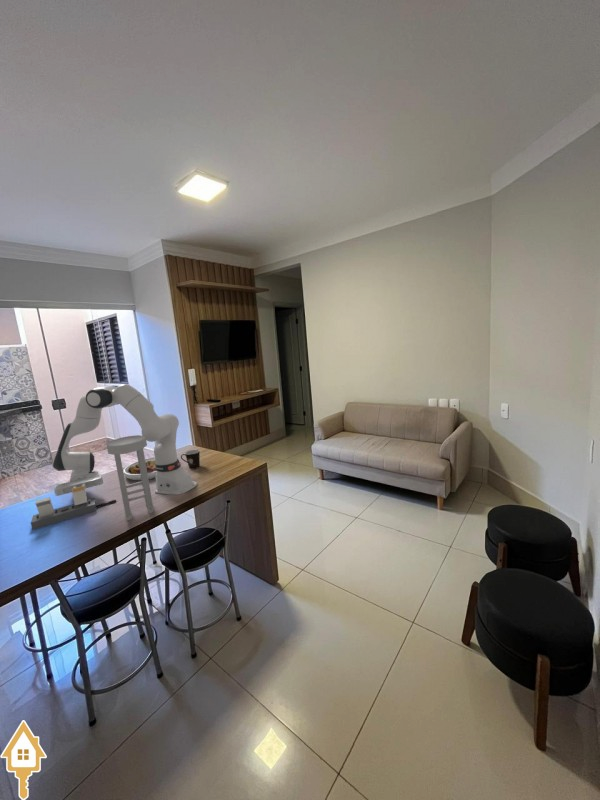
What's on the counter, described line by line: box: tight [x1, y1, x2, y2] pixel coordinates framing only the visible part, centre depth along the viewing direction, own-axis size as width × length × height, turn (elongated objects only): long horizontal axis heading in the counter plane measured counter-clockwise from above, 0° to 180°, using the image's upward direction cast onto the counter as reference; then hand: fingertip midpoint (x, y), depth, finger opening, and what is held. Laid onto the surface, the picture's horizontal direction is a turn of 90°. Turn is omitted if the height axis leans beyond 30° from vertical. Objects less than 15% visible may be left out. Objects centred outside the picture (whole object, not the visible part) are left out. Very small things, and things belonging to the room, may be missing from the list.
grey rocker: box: [35, 496, 54, 516], centre depth 142 cm, size 5×2×8 cm, turn 124°
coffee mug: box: [180, 449, 201, 470], centre depth 199 cm, size 12×9×10 cm
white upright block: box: [71, 486, 88, 505], centre depth 151 cm, size 5×2×8 cm, turn 124°
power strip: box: [30, 497, 117, 531], centre depth 150 cm, size 33×8×5 cm, turn 124°
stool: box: [106, 434, 155, 521], centre depth 144 cm, size 16×16×35 cm
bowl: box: [123, 456, 157, 481], centre depth 196 cm, size 30×30×8 cm
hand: (79, 490), depth 154 cm, fingers closed
